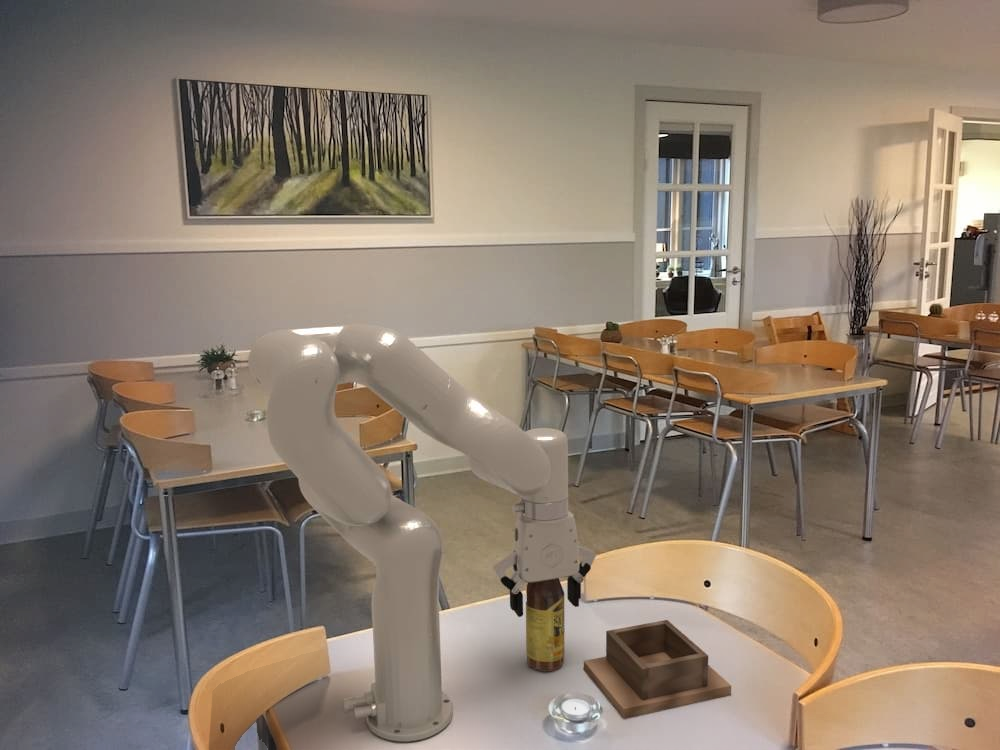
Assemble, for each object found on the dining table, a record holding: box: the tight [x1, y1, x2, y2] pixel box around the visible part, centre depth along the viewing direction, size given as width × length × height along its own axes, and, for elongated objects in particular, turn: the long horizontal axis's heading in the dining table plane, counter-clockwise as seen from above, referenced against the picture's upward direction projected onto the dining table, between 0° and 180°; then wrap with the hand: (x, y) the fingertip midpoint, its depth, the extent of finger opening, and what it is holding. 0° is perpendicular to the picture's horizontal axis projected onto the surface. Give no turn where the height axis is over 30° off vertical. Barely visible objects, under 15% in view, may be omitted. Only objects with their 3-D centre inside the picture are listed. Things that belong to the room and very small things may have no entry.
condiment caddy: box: [583, 619, 732, 719], centre depth 121 cm, size 18×14×6 cm
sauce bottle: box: [525, 578, 565, 672], centre depth 126 cm, size 7×6×20 cm
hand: (545, 608), depth 126 cm, fingers open, 9 cm apart
